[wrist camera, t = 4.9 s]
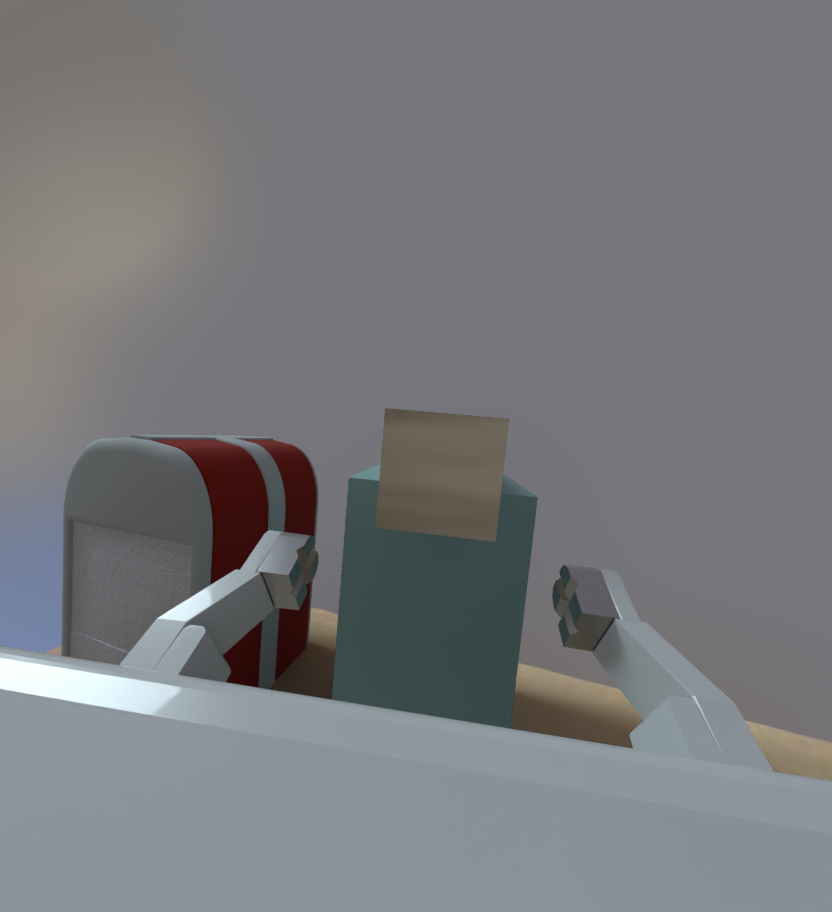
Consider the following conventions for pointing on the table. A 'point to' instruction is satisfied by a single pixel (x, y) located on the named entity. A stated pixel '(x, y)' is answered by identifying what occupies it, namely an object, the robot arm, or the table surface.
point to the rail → (441, 473)
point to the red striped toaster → (179, 539)
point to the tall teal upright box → (432, 611)
